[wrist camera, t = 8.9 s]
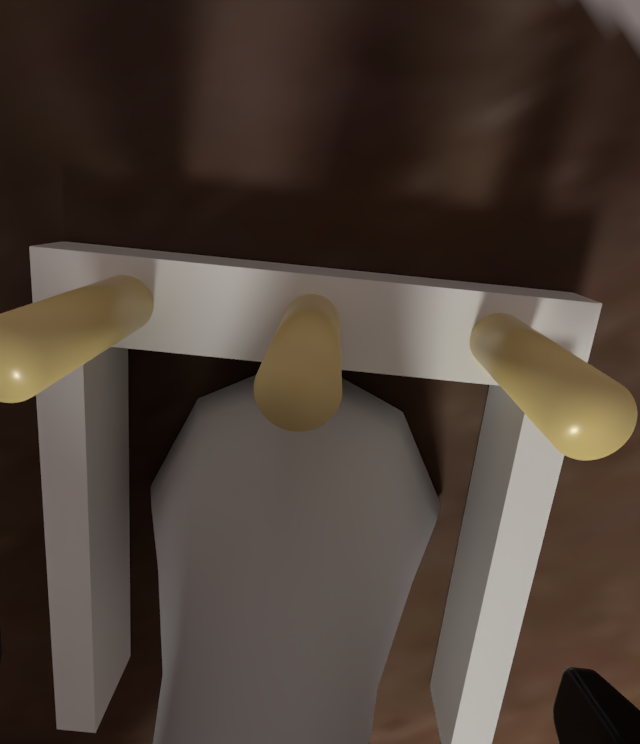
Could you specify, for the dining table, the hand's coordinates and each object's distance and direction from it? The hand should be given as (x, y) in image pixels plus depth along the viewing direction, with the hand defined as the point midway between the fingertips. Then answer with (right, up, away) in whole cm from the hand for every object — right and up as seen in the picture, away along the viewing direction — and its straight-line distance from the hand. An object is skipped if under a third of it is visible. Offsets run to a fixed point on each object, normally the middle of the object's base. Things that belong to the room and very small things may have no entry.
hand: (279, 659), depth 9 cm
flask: (0, +1, +6) cm, 6 cm away
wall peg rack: (0, +1, +6) cm, 6 cm away
